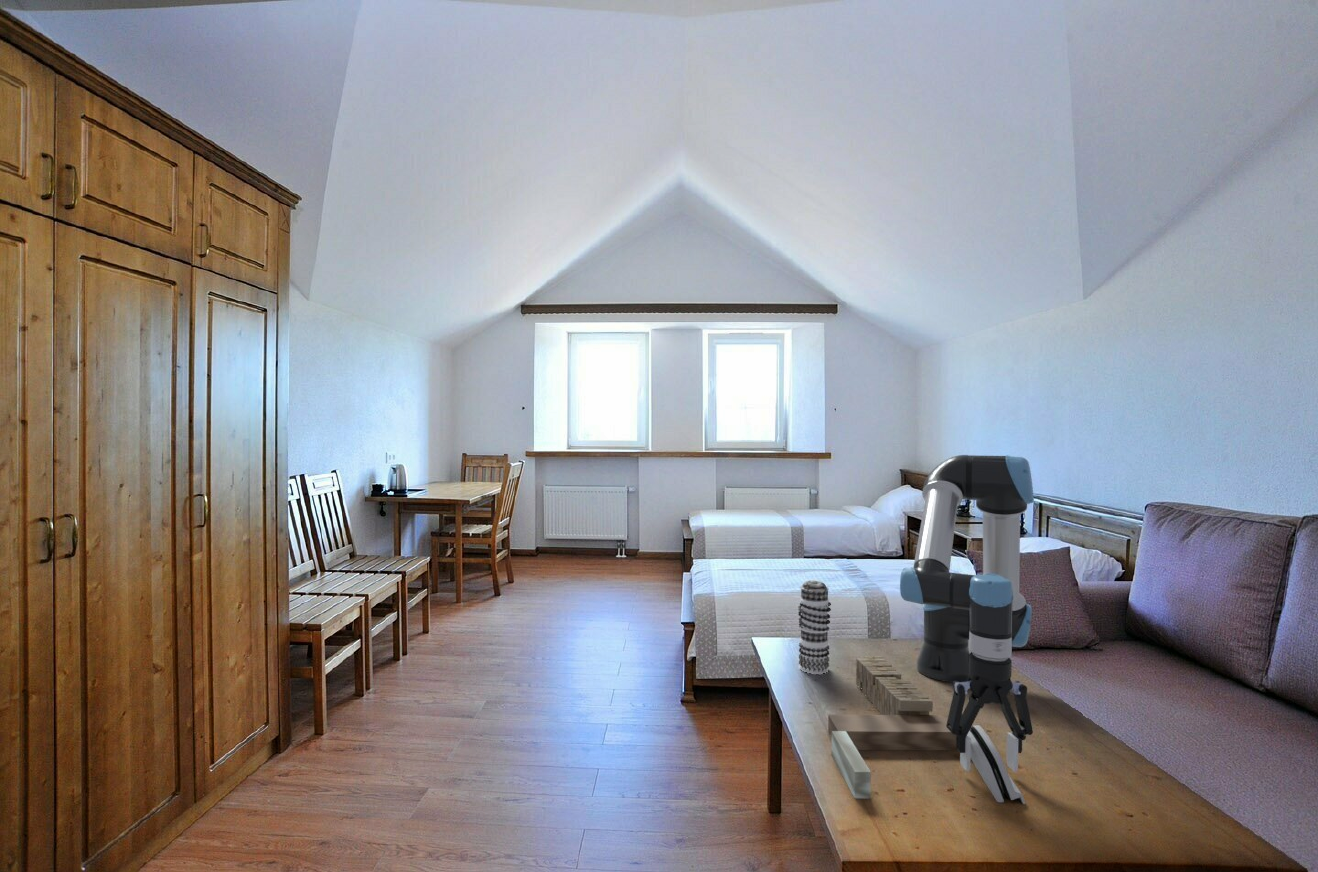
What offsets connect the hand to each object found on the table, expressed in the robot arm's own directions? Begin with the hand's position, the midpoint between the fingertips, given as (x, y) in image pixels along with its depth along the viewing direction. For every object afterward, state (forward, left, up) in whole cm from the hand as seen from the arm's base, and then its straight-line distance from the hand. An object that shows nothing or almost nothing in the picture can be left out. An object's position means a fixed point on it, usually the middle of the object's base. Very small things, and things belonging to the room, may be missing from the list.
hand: (988, 768), depth 126 cm
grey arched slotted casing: (0, 0, -2) cm, 2 cm away
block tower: (+8, -32, -2) cm, 33 cm away
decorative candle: (+21, -56, -2) cm, 60 cm away
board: (+13, -5, -2) cm, 14 cm away
